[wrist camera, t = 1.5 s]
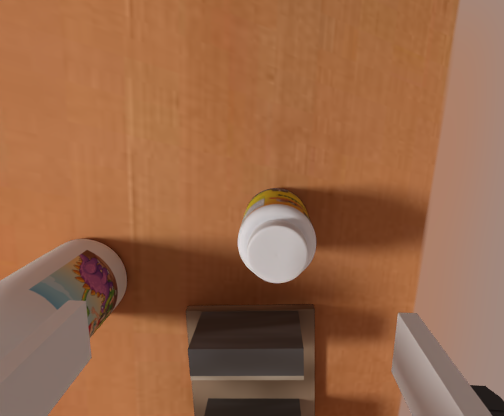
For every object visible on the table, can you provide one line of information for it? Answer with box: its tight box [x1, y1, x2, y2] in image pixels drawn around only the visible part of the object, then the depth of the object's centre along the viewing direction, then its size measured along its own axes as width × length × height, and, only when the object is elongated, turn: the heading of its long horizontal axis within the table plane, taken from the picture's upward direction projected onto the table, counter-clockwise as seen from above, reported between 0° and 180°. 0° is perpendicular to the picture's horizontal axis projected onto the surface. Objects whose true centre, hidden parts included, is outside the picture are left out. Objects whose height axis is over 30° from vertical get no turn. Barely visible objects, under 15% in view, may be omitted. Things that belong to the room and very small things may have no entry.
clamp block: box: [186, 304, 315, 416], centre depth 34 cm, size 12×12×7 cm
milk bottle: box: [0, 239, 127, 360], centre depth 27 cm, size 8×8×20 cm
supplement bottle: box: [238, 188, 316, 283], centre depth 29 cm, size 6×6×10 cm
